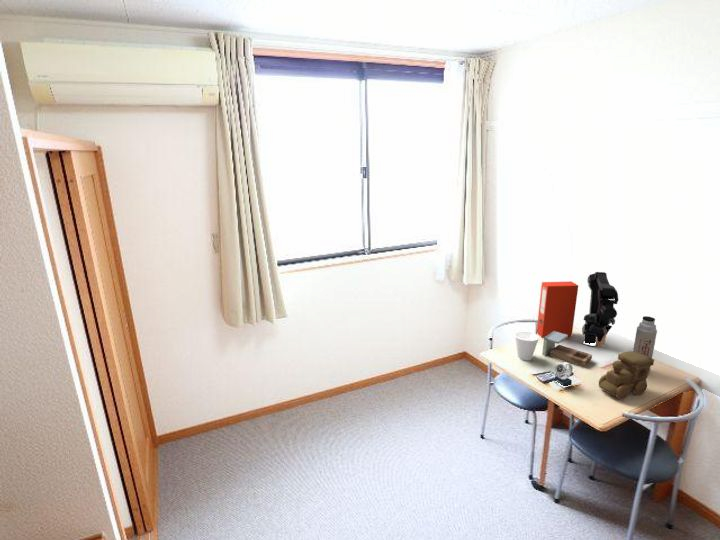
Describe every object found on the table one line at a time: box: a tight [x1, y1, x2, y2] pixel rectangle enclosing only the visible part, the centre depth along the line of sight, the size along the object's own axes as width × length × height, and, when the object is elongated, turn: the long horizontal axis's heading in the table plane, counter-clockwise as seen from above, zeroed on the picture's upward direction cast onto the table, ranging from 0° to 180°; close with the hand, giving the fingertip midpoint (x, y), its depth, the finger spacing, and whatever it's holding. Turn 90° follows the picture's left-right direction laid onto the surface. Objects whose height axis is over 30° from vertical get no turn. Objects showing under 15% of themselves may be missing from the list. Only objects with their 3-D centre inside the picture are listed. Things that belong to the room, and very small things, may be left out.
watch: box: [554, 361, 574, 386], centre depth 192 cm, size 6×8×11 cm
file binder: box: [536, 280, 579, 339], centre depth 241 cm, size 8×17×32 cm, turn 90°
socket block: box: [549, 344, 593, 369], centre depth 216 cm, size 10×17×4 cm, turn 42°
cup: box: [514, 330, 540, 361], centre depth 218 cm, size 12×12×12 cm
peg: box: [596, 330, 607, 347], centre depth 209 cm, size 4×4×8 cm
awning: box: [541, 331, 569, 357], centre depth 222 cm, size 12×8×10 cm, turn 132°
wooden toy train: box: [598, 350, 655, 401], centre depth 185 cm, size 20×11×17 cm, turn 109°
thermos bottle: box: [632, 315, 658, 375], centre depth 200 cm, size 8×8×28 cm
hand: (600, 340), depth 210 cm, fingers closed on peg, 4 cm apart
